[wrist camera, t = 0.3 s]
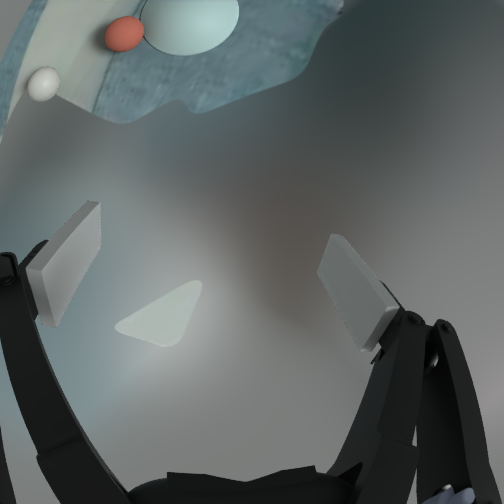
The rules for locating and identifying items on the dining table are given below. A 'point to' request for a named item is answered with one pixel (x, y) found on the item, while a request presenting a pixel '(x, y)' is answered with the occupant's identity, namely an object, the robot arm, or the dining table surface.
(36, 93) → the cue ball
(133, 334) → the dining table surface
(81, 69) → the dining table surface
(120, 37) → the object ball
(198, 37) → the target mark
